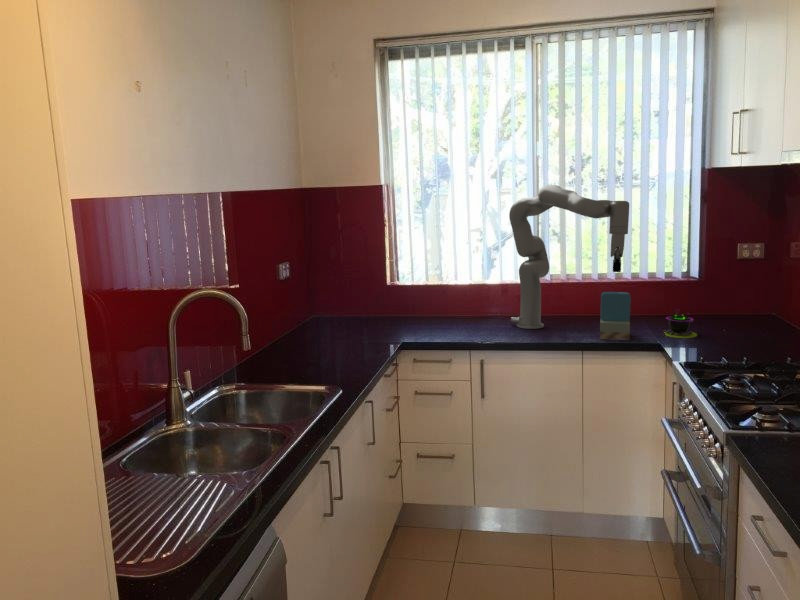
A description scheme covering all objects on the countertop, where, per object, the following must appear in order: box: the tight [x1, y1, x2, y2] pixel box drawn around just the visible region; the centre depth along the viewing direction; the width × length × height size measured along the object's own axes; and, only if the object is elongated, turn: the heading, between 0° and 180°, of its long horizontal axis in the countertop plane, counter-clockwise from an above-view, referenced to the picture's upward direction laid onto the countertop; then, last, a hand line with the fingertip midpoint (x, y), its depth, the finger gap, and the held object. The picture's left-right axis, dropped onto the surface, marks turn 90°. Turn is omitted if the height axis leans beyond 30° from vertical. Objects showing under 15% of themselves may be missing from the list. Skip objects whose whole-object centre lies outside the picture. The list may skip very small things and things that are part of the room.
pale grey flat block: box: [599, 318, 631, 334], centre depth 288 cm, size 12×13×4 cm
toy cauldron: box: [664, 309, 698, 339], centre depth 290 cm, size 15×15×11 cm
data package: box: [600, 291, 632, 321], centre depth 286 cm, size 12×4×12 cm, turn 75°
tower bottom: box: [599, 331, 631, 341], centre depth 288 cm, size 12×13×4 cm
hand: (616, 270), depth 283 cm, fingers open, 9 cm apart
